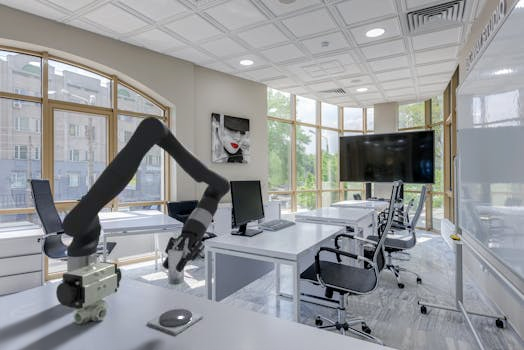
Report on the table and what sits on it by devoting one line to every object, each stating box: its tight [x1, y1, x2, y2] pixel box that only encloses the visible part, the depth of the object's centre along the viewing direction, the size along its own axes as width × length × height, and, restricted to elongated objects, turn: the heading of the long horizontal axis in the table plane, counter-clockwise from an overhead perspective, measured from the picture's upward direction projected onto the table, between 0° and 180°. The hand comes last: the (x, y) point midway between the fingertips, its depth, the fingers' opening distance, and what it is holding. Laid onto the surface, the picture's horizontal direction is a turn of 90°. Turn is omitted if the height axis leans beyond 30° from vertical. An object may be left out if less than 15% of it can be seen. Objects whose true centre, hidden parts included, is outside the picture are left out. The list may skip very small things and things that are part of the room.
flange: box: [146, 306, 204, 336], centre depth 94 cm, size 12×12×1 cm
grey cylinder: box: [167, 247, 185, 286], centre depth 94 cm, size 5×5×10 cm
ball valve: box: [55, 261, 122, 325], centre depth 95 cm, size 18×8×18 cm, turn 159°
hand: (171, 268), depth 92 cm, fingers closed on grey cylinder, 4 cm apart
